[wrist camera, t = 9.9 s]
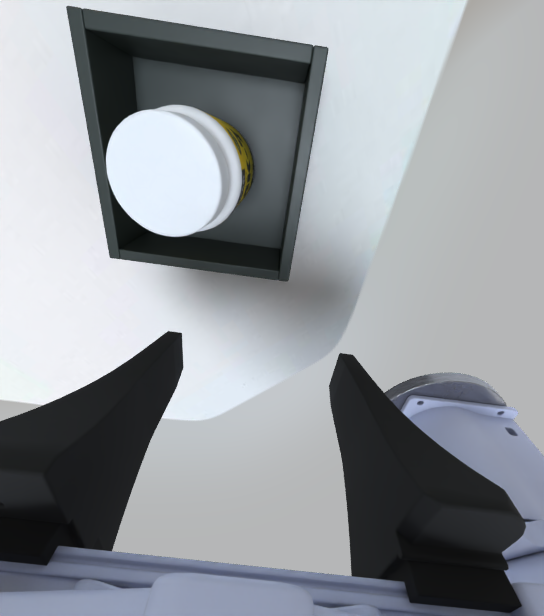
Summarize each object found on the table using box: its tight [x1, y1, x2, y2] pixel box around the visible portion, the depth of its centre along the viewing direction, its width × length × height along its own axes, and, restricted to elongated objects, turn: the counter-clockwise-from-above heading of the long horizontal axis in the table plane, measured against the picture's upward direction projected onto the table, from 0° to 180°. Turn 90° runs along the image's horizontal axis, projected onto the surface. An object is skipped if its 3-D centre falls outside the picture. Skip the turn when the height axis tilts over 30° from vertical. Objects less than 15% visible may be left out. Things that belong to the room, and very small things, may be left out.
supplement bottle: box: [106, 105, 254, 237], centre depth 13 cm, size 5×5×8 cm
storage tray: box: [66, 6, 328, 281], centre depth 15 cm, size 10×10×5 cm
